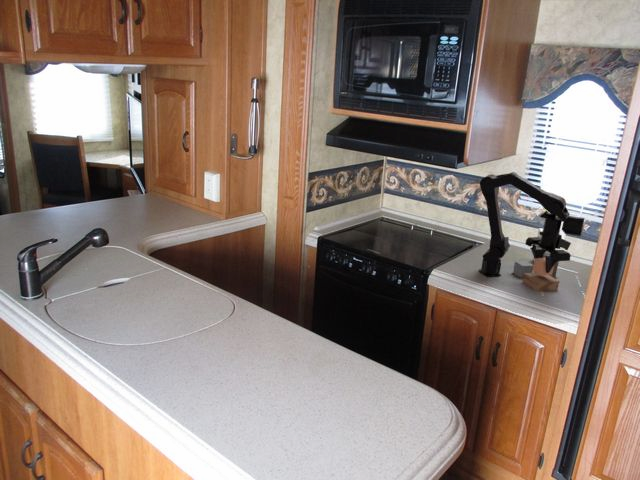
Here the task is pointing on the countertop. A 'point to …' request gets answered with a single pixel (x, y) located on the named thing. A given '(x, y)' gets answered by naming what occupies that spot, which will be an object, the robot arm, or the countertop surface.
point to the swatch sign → (553, 269)
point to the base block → (540, 282)
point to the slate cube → (522, 268)
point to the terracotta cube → (541, 267)
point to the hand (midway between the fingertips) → (542, 270)
